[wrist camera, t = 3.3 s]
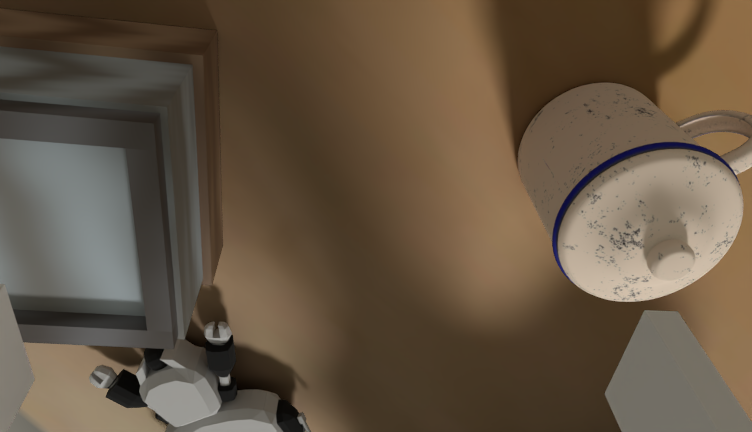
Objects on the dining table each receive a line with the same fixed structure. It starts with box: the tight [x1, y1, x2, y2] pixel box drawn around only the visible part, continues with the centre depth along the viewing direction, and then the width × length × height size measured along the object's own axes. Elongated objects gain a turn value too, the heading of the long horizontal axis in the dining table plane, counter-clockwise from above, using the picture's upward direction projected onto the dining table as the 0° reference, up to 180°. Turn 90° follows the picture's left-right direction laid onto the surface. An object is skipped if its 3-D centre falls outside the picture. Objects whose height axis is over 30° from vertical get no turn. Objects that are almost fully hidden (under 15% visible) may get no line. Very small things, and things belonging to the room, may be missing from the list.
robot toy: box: [89, 322, 311, 432], centre depth 45 cm, size 12×4×15 cm
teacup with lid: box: [518, 83, 752, 302], centre depth 31 cm, size 12×9×12 cm
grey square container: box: [0, 8, 223, 349], centre depth 31 cm, size 14×14×10 cm
